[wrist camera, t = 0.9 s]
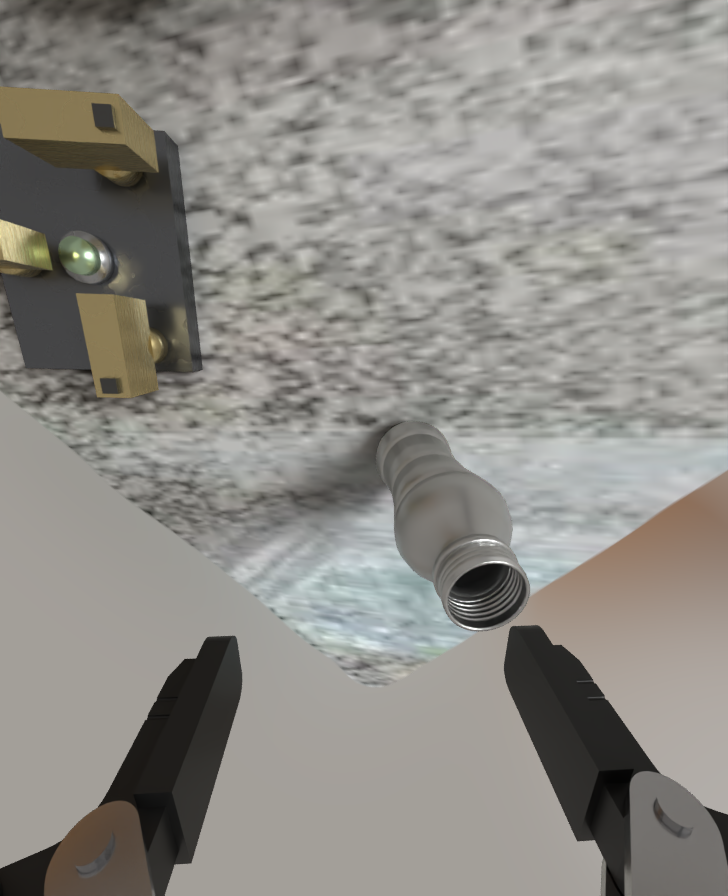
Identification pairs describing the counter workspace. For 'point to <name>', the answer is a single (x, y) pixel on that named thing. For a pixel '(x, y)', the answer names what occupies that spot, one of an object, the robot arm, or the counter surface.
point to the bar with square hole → (22, 251)
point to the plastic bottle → (452, 528)
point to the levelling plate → (99, 254)
